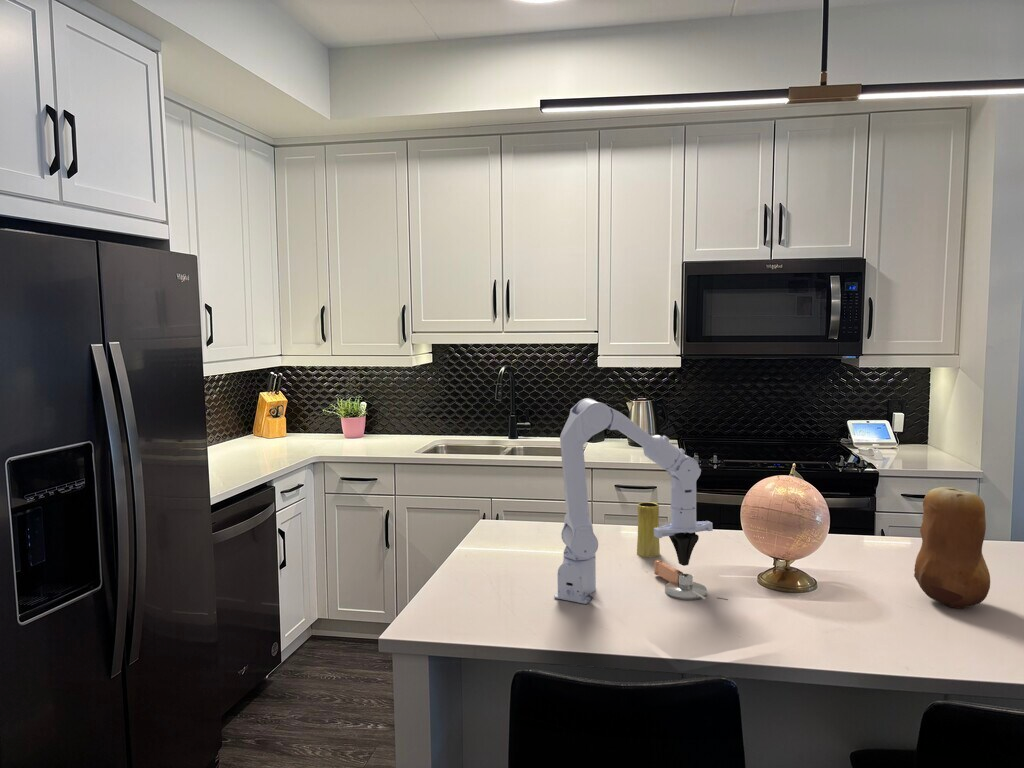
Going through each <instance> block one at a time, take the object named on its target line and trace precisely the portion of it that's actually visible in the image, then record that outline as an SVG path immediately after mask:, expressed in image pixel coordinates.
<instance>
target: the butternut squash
mask: <svg viewBox="0 0 1024 768" xmlns="http://www.w3.org/2000/svg"><path fill="white" fill-rule="evenodd" d="M922 509H923V510H922V511H923V514H922V515H923V516H922V523H921V526H920V528H919V532H920V536H921V541H922V542H921V546H920V548H919V552H918V553H917V556H916V558H915V564H914V568H913V569H914V574H913V577H914V578H915V580H916V582H917V583H918V586H919V587H920V589H921V590H922V592H924V594H925V595H926V596H927V597H929V598H930V599H932V600H934V601H936V602H939V603H942V604H944V605H945V606H947V607H948V608H955V609H960V610H962V609H964V608H967V607H968V608H969V607H974V606H977V605H980V604H981V603H982V602H984V600H986V598H987V596H988V594H989V592H990V589H991V575H990V571H989V568H988V565H987V563H986V560H985V558H984V555H983V545H984V541H985V535H986V526H987V525H986V524H987V523H986V506H985V503H984V501H983V499H982V498H981V497H980V496H979V495H978V494H977V493H974V492H971V491H967V490H963V489H959V488H956V487H951V486H941V487H935V488H932V489H930V490H929V491H928V492H926V494H925V496H924V498H923V501H922Z"/></svg>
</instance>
